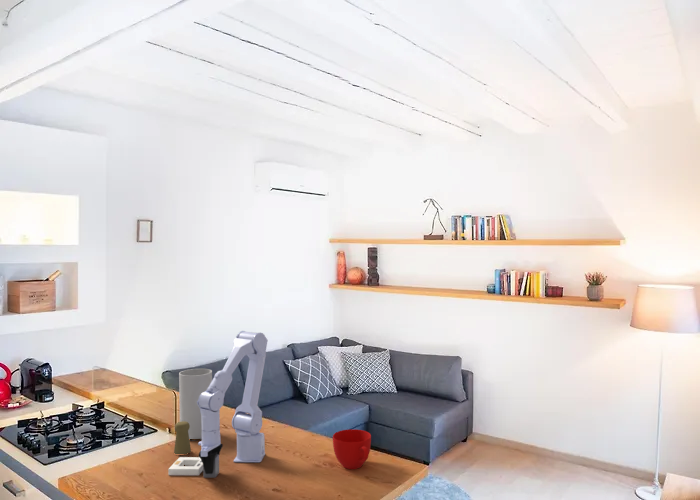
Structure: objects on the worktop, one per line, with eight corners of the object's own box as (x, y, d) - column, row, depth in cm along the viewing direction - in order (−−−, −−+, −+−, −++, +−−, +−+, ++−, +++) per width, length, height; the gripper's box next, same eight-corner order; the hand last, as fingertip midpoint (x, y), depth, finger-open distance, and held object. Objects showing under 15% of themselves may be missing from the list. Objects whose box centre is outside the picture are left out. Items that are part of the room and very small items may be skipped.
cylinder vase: (219, 433, 215) (218, 370, 215) (195, 443, 204) (194, 377, 204) (197, 428, 221) (197, 367, 221) (173, 437, 211) (172, 373, 211)
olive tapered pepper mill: (186, 456, 191) (185, 425, 191) (170, 455, 192) (170, 424, 192) (194, 450, 197) (193, 420, 197) (179, 448, 198) (178, 419, 198)
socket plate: (208, 463, 185) (208, 456, 185) (198, 475, 175) (198, 468, 175) (179, 462, 185) (179, 456, 185) (168, 475, 175) (168, 468, 175)
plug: (219, 472, 177) (218, 451, 177) (215, 477, 173) (215, 456, 173) (207, 472, 177) (206, 451, 177) (203, 477, 173) (203, 456, 173)
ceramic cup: (349, 480, 169) (348, 449, 169) (326, 462, 184) (326, 433, 184) (384, 472, 175) (384, 441, 175) (359, 455, 190) (359, 426, 190)
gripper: (205, 421, 182) (206, 461, 182) (190, 436, 168) (191, 479, 168) (226, 421, 182) (226, 461, 182) (213, 436, 167) (213, 480, 167)
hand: (211, 470), depth 175 cm, fingers closed on plug, 4 cm apart
